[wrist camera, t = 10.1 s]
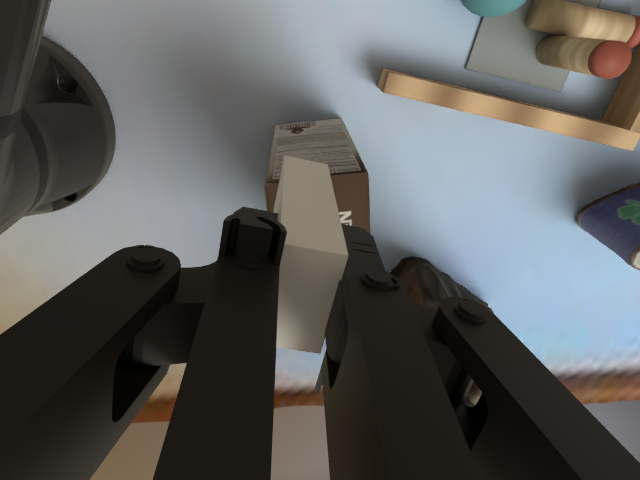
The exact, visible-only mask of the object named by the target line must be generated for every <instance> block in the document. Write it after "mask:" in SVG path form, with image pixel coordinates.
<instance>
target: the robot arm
mask: <svg viewBox="0 0 640 480" xmlns="http://www.w3.org/2000/svg"><path fill="white" fill-rule="evenodd" d="M50 3H51V0H0V235H1V234H2V233H3V232H4V231H6V230H7V229H8V228H9V227H11V226H12V225H13V224H15V223H16V222H17V221H18V220H20V219H21V218H22V217H25V216H31V215H36V214H42V213H48V212H53V211H57V210H60V209H63V208H66V207H68V206H70V205H72V204H74V203H76V202H77V201H79V200H80V199H82V198H83V197H84V196H86V195H87V194H88V193H89V192H90V191H91V190H92V189H94V188H95V187H96V186H97V185H98V184H99V183H100V181H101V180H102V179H103V177H104V176H105V175H106V173H107V171H108V169H109V167H110V165H111V162H112V159H113V155H114V149H115V127H114V121H113V117H112V113H111V110H110V107H109V105H108V102H107V100H106V98H105V96H104V94H103V92H102V90H101V88H100V87H99V85H98V84H97V82H96V81H95V79H94V78H93V77H92V75H91V74H90V73H89V72H88V70H87V69H86V68H85V67H84V66H83V65H82V64H81V63H80V62H79V61H78V60H77V59H76V58H75V57H73V56H72V55H71V54H70V53H69V52H67V51H66V50H65V49H63V48H62V47H60V46H59V45H57V44H56V43H54V42H52V41H50V40H48V39H46V38H44V37H42V34H43V30H44V26H45V22H46V18H47V14H48V10H49V6H50ZM325 337H326V347H327V349H326V352H325V356H324V359H323V363H322V366H321V369H320V373H319V376H318V380H317V383H316V387H315V391H314V393H319V391H320V388H321V386H322V385H323V394H324V407H325V420H326V431H327V445H328V458H329V470H330V480H640V463H639V462H638V461H637V460H636V459H635V458H634V457H633V456H632V455H631V454H630V453H629V452H628V451H627V450H626V449H625V448H624V447H623V446H622V445H621V444H620V443H619V441H618V440H617V439H616V438H615V437H614V436H612V434H611V433H610V432H609V431H608V430H607V429H606V428H605V427H604V426H603V425H602V424H601V423H600V422H599V421H598V420H597V419H596V418H595V417H594V416H593V415H592V414H591V413H590V412H589V411H588V410H587V409H586V408H585V407H584V406H583V405H582V404H581V403H580V402H579V401H578V399H577V398H576V397H575V396H574V395H573V394H572V393H571V392H570V391H569V390H568V389H567V388H566V387H565V386H564V385H563V384H562V383H561V382H560V381H559V380H558V379H557V378H556V377H555V376H554V375H553V374H552V373H551V372H550V371H549V370H548V369H547V368H546V367H545V366H544V365H543V364H542V363H541V362H540V361H539V360H538V359H537V358H536V357H535V356H534V354H533V353H532V352H531V351H530V350H529V349H528V348H527V347H526V346H525V345H524V344H523V343H522V342H521V341H520V340H519V339H518V338H517V337H516V336H515V335H514V334H513V333H512V332H511V331H510V330H509V329H508V328H507V327H506V326H505V325H504V324H503V323H502V322H501V321H500V320H499V319H498V318H497V317H496V316H495V315H494V314H493V313H492V312H491V311H490V310H488V309H487V308H486V307H484V306H482V305H481V304H479V303H478V302H477V301H474V300H472V299H470V300H469V298H465V297H456V296H451V297H445V298H443V299H442V300H441V301H440V303H439V306H438V308H437V310H435V309H432V308H429V307H426V306H423V305H421V304H418V303H415V302H413V301H411V300H410V299H409V296H408V294H407V291H406V289H405V287H404V285H403V284H402V282H401V281H400V280H399V279H397V278H396V277H395V276H393V275H392V274H390V273H388V272H386V271H385V269H384V266H383V263H382V260H381V258H380V255H379V252H378V249H377V248H376V243H375V241H374V238H373V236H372V235H371V234H369V233H368V232H367V231H366V230H365V229H364V228H361V227H356V226H350V225H345V224H341V220H340V216H339V212H338V207H337V203H336V198H335V194H334V190H333V185H332V181H331V177H330V172H329V168H328V164H324V163H319V162H314V161H309V160H305V159H300V158H295V157H290V156H284V161H283V166H282V171H281V176H280V181H279V186H278V191H277V196H276V201H275V206H274V211H273V212H269V211H263V210H258V209H253V208H247V207H242V208H241V209H239V210H237V211H236V212H234V214H233V215H230V216H228V217H227V218H226V219H225V220H224V223H223V229H222V236H221V242H220V249H219V256H218V259H217V261H216V262H214V263H212V264H210V265H206V266H202V267H193V268H181V264H180V260H179V258H178V257H177V256H176V255H174V254H173V253H172V252H170V251H167V250H165V249H163V248H158V247H154V246H149V245H145V246H144V245H137V246H133V247H127V248H123V249H121V250H119V251H117V252H115V253H113V254H112V255H110V256H109V257H108V258H106V259H105V260H103V261H102V262H101V263H99V264H98V265H96V266H95V267H94V268H92V269H91V270H90V271H88V272H87V273H85V274H84V275H83V276H81V277H80V278H78V279H77V280H76V281H74V282H73V283H71V284H70V285H69V286H67V287H66V288H65V289H63V290H62V291H60V292H59V293H58V294H56V295H55V296H53V297H52V298H51V299H49V300H48V301H46V302H45V303H44V304H42V305H41V306H40V307H38V308H37V309H35V310H34V311H33V312H31V313H30V314H28V315H27V316H26V317H24V318H23V319H21V320H20V321H19V322H17V323H16V324H15V325H13V326H12V327H10V328H9V329H8V330H6V331H5V332H3V333H2V334H1V335H0V480H90V478H91V477H92V475H93V474H94V472H95V471H96V470H97V468H98V467H99V466H100V464H101V463H102V462H103V460H104V459H105V457H106V456H107V455H108V453H109V452H110V451H111V449H112V448H113V447H114V445H115V444H116V443H117V441H118V440H119V438H120V437H121V436H122V434H123V433H124V432H125V430H126V429H127V427H128V426H129V425H130V423H131V422H132V421H133V419H134V418H135V417H136V415H137V414H138V412H139V411H140V410H141V408H142V407H143V406H144V404H145V403H146V401H147V400H148V399H149V397H150V396H151V395H152V393H153V392H154V390H155V389H156V388H157V386H158V385H159V384H160V382H161V381H162V380H163V378H164V377H165V375H166V374H167V371H168V369H169V366H170V364H180V363H187V365H186V368H185V372H184V375H183V378H182V382H181V385H180V389H179V392H178V395H177V399H176V402H175V406H174V409H173V413H172V416H171V419H170V423H169V426H168V430H167V433H166V437H165V440H164V443H163V447H162V450H161V453H160V457H159V460H158V464H157V467H156V471H155V474H154V477H153V480H270V478H271V454H272V432H273V409H274V386H275V363H276V347H279V348H285V349H292V350H299V351H306V352H313V353H321V349H322V346H323V342H324V339H325ZM473 381H474V382H475V384H476V385H477V386H478V387H479V389H480V390H481V391H482V394H481V396H480V398H479V400H478V402H477V403H476V405H474V404H473V403H472V402H471V401H470V400H469V398H468V397H467V394H468V392H469V390H470V387H471V385H472V383H473Z"/></svg>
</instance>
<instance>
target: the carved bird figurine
mask: <svg viewBox="0 0 640 480" xmlns="http://www.w3.org/2000/svg"><path fill="white" fill-rule="evenodd" d="M390 274H392V275H393V276H395V277H396V278H397V279H399V280H400V281H401V282H402V284H403V285H404V287H405V289H406V291H407V294H408V296H409V299H410V300H411V301H413V302H415V303H418V304H421V305H423V306H426V307H429V308H432V309H435V310H437V308H438V306H439V303H440V301H441V300H442V299H443V298H445V297H451V296H456V297H465V298H469V300H470V299H472V300H474V301H477V302H478V303H479V304H481V305H482V306H484V307H486V308H487V309H488V310H490V311H491V312H492V313H493V311H492V309H491V308H489V307H488V304H487V303H486V302H484V301H482V300H480V299H479V298H478V297H476V296H475V295H473V294H472V293H470V292H469V291H468V290H467V289H466V288H465V287H463V286H461V285H458V284H457V283H456V282H455V281H453V280H452V279H451V277H450V276H449V275H447V274H445V273H442V272H440V271H439V270H438V269H436V268H435V267H434V266H433V265H432V264H431V263H430V262H429V261H427V260H426V259H422V258H416V257H408V258H404V259H402V260H401V261H400V263H399V264H398V265H397V267H394V268H393V269H392V271H391V272H390ZM493 314H494V313H493ZM481 394H482V391H481V390H480V389H479V387H478V386H477V385H476V384H475V382H474V381H473V383H472V385H471V387H470V390H469V392H468V394H467V397H468V398H469V400H470V401H471V402H472V403H473V404H474V405H476V403H477V402H478V400H479V398H480V396H481Z"/></svg>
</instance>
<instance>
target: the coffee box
mask: <svg viewBox="0 0 640 480" xmlns="http://www.w3.org/2000/svg"><path fill="white" fill-rule="evenodd" d="M284 156H290V157H295V158H300V159H305V160H309V161H314V162H319V163H324V164H328V168H329V172H330V177H331V181H332V185H333V190H334V194H335V198H336V203H337V207H338V212H339V216H340V220H341V224H345V225H350V226H356V227H361V228H364V229H365V230H366V231H367V232H368V233H369V234H370V209H369V179H368V172H367V170H366V168H365V166H364V164H363V162H362V160H361V158H360V156H359V153H358V151H357V149H356V147H355V145H354V143H353V141H352V139H351V137H350V135H349V133H348V131H347V129H346V126H345V124H344V122H343V120H342V119H340V118H337V119H326V120H317V121H307V122H297V123H288V124H279V125H275V128H274V134H273V141H272V147H271V152H270V157H269V162H268V168H267V174H266V179H265V185H264V189H265V199H266V208H267V211H269V212H273V211H274V206H275V201H276V196H277V191H278V186H279V181H280V176H281V171H282V166H283V161H284Z"/></svg>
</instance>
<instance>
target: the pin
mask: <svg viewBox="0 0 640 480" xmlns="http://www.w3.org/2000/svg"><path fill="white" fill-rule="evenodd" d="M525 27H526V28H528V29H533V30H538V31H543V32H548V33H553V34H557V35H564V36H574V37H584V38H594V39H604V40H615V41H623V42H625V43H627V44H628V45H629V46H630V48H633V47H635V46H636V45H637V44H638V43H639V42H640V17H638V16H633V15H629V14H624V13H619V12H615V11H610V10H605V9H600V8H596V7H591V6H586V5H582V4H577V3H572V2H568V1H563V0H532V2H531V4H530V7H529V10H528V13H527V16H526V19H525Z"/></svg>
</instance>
